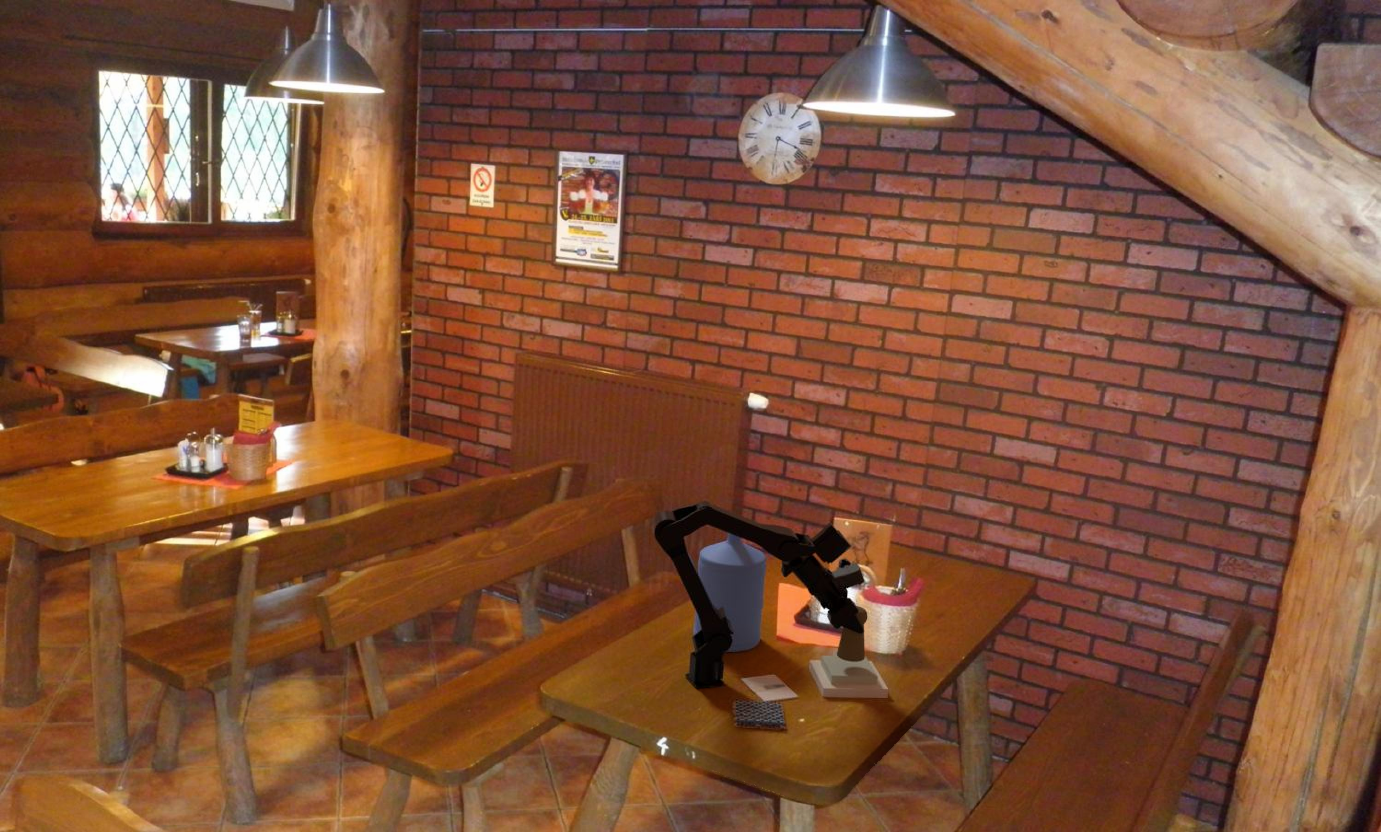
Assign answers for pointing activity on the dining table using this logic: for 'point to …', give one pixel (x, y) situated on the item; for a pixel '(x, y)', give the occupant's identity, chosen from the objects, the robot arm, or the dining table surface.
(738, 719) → the woven mat
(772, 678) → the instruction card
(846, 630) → the brown tapered knobbed post
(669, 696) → the dining table surface
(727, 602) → the water jug
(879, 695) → the tower base
